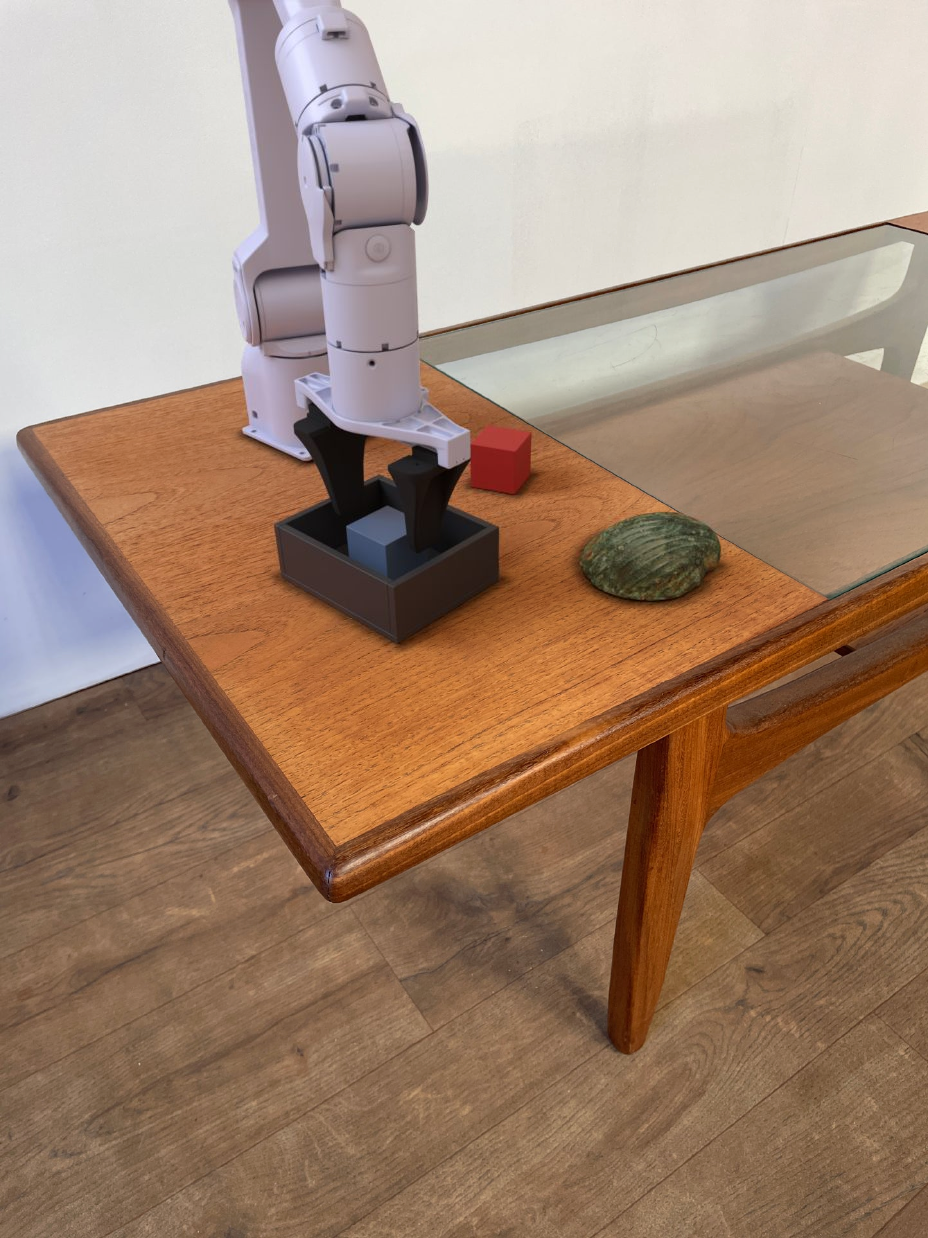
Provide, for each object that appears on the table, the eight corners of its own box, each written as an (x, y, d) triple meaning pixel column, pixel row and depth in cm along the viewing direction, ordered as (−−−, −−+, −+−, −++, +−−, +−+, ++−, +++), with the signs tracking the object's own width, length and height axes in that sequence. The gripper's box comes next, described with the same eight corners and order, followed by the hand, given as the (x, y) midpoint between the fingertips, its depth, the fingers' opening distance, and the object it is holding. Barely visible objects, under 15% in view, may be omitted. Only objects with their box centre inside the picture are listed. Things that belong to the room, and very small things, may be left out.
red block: (470, 486, 81) (469, 443, 79) (487, 466, 84) (487, 424, 82) (514, 495, 80) (515, 451, 78) (530, 474, 83) (532, 431, 81)
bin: (281, 577, 70) (273, 523, 68) (382, 524, 76) (379, 473, 74) (397, 644, 63) (393, 587, 61) (499, 580, 69) (499, 526, 67)
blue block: (350, 574, 69) (345, 525, 67) (390, 552, 72) (387, 505, 70) (388, 594, 67) (385, 545, 65) (428, 571, 70) (426, 523, 67)
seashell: (590, 478, 73) (726, 490, 71) (587, 523, 76) (717, 535, 74) (576, 555, 65) (726, 571, 64) (572, 602, 68) (717, 618, 66)
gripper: (504, 346, 58) (501, 540, 66) (343, 297, 66) (358, 475, 74) (421, 380, 54) (429, 583, 61) (260, 323, 62) (285, 509, 70)
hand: (385, 527), depth 67 cm, fingers open, 7 cm apart
